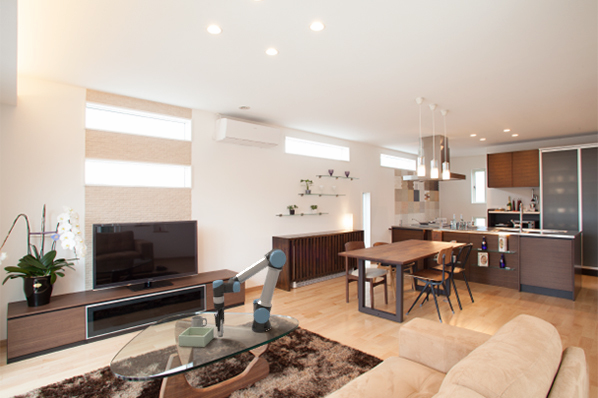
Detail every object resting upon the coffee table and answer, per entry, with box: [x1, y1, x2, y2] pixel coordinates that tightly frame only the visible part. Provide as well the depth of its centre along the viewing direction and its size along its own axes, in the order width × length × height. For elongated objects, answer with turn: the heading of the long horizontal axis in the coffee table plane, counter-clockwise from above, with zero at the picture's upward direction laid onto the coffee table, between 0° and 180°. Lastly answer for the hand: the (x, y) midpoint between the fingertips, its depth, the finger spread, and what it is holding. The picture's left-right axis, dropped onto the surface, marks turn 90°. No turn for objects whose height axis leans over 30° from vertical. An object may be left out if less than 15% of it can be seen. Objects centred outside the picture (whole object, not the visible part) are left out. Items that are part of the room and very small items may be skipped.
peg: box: [217, 319, 224, 338], centre depth 241 cm, size 3×3×12 cm
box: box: [177, 326, 215, 348], centre depth 238 cm, size 19×16×7 cm
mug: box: [190, 315, 208, 328], centre depth 257 cm, size 12×8×11 cm
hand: (220, 334), depth 241 cm, fingers closed on peg, 3 cm apart
